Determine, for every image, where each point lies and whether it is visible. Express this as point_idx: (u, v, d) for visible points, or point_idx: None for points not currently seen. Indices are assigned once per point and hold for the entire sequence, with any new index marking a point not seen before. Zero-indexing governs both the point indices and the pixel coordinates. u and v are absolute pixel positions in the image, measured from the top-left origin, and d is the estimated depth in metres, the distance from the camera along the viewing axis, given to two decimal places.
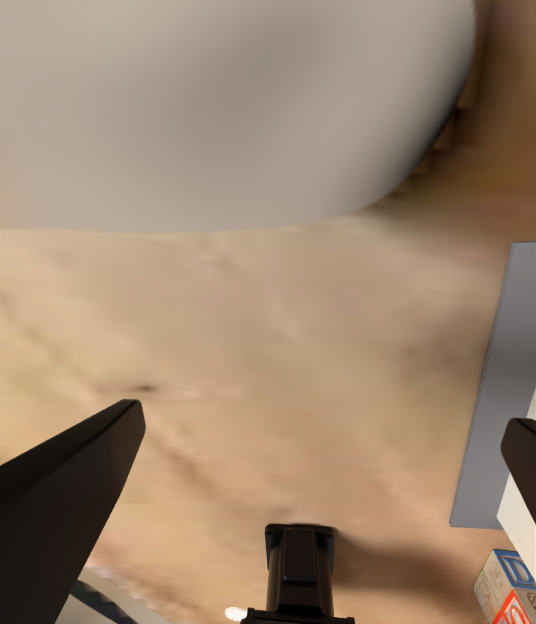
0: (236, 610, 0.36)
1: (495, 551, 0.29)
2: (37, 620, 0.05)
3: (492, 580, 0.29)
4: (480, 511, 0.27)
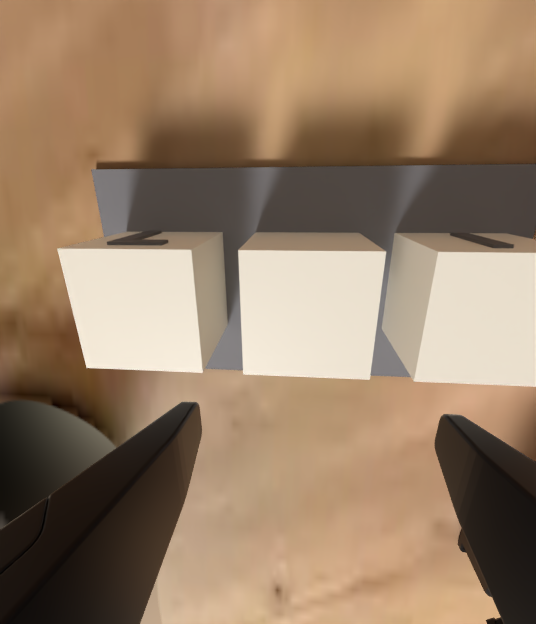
0: None
1: None
2: None
3: None
4: None
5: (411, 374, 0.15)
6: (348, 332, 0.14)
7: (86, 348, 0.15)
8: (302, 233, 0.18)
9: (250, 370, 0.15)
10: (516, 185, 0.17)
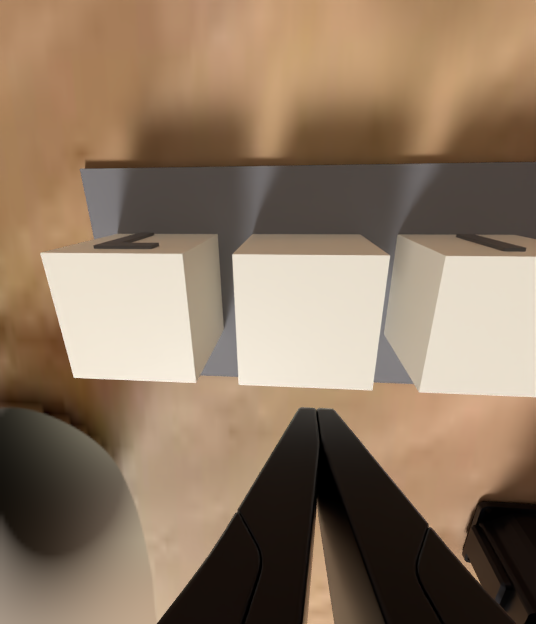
0: None
1: None
2: None
3: None
4: None
5: (416, 384, 0.14)
6: (349, 341, 0.13)
7: (73, 357, 0.15)
8: (301, 235, 0.17)
9: (246, 380, 0.14)
10: (525, 184, 0.16)
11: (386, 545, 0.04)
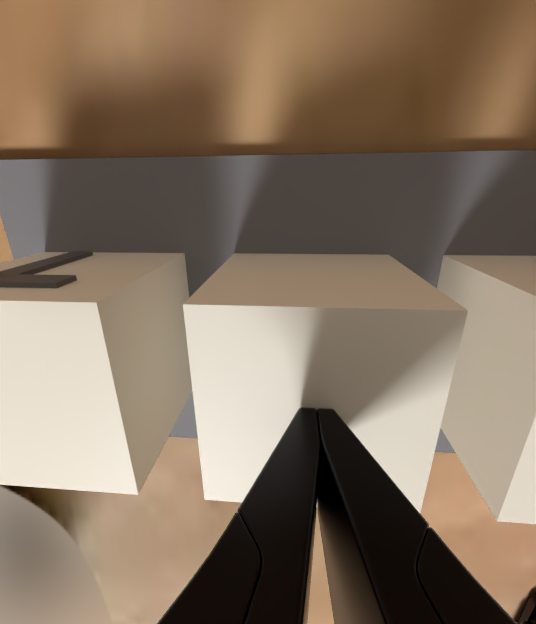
0: None
1: None
2: None
3: None
4: None
5: (489, 504, 0.09)
6: (386, 444, 0.08)
7: None
8: (303, 256, 0.12)
9: (216, 494, 0.09)
10: None
11: (386, 545, 0.04)
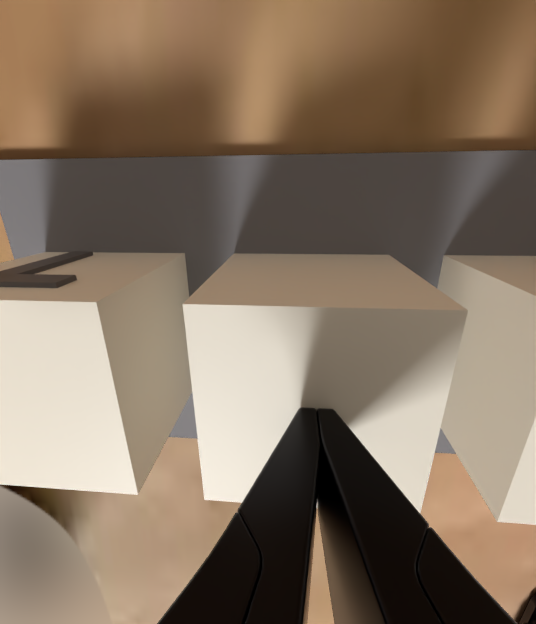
0: None
1: None
2: None
3: None
4: None
5: (490, 505, 0.09)
6: (386, 445, 0.08)
7: None
8: (303, 256, 0.12)
9: (216, 494, 0.09)
10: None
11: (386, 545, 0.04)
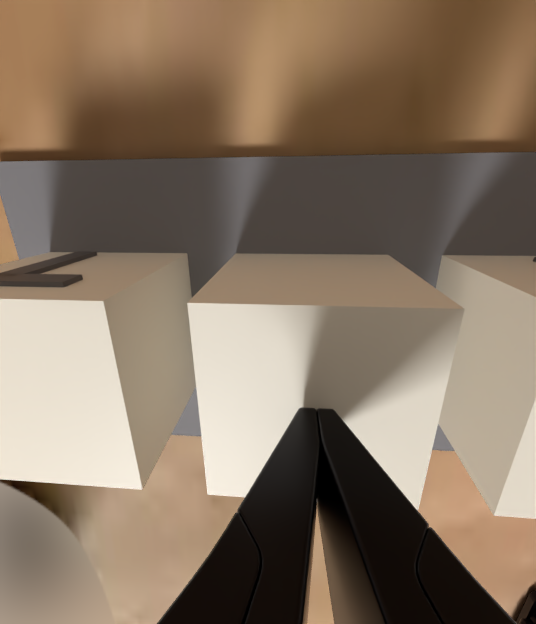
0: None
1: None
2: None
3: None
4: None
5: (487, 499, 0.09)
6: (385, 440, 0.08)
7: None
8: (304, 256, 0.12)
9: (219, 489, 0.09)
10: None
11: (386, 545, 0.04)
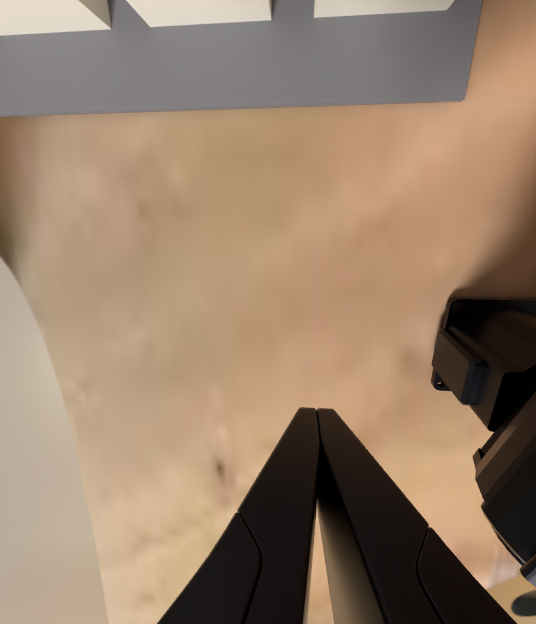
0: None
1: None
2: None
3: None
4: (426, 49, 0.15)
5: None
6: None
7: None
8: None
9: None
10: None
11: (386, 545, 0.04)
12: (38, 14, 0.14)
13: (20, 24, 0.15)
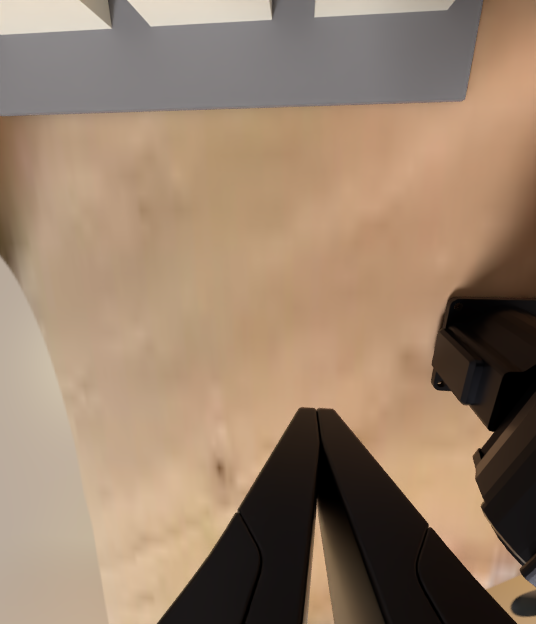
0: None
1: None
2: None
3: None
4: (427, 49, 0.15)
5: None
6: None
7: None
8: None
9: None
10: None
11: (386, 545, 0.04)
12: (38, 14, 0.14)
13: (21, 23, 0.15)
